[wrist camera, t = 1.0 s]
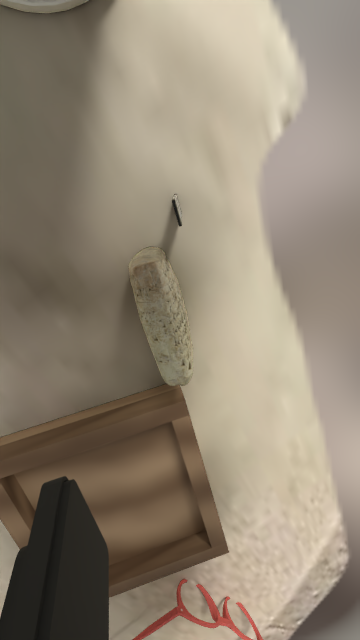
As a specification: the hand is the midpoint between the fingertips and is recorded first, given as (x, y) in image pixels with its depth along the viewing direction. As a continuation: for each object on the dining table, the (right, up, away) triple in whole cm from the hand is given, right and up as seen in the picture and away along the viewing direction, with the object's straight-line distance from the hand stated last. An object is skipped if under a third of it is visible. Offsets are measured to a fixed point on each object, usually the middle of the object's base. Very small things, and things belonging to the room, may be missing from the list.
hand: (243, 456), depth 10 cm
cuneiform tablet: (-3, +7, +17) cm, 19 cm away
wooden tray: (-8, -12, +23) cm, 27 cm away
